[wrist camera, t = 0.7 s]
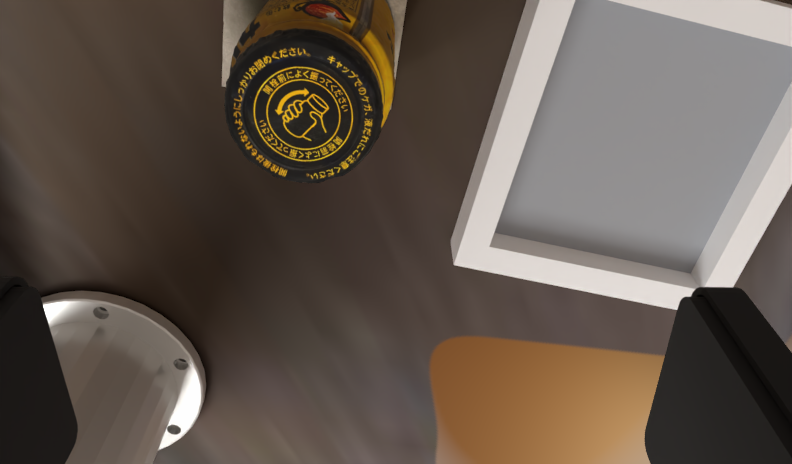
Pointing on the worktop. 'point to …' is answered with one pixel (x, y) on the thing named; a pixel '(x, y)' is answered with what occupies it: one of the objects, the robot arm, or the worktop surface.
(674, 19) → the housing
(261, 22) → the condiment
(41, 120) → the worktop surface
